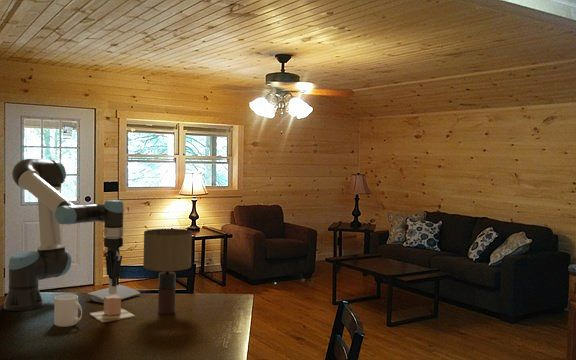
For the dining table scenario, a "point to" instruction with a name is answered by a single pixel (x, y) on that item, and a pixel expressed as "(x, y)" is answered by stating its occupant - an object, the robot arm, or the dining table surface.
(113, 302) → the pink rectangular block
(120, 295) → the book
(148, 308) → the dining table surface
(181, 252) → the lamp
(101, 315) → the board
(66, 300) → the mug
